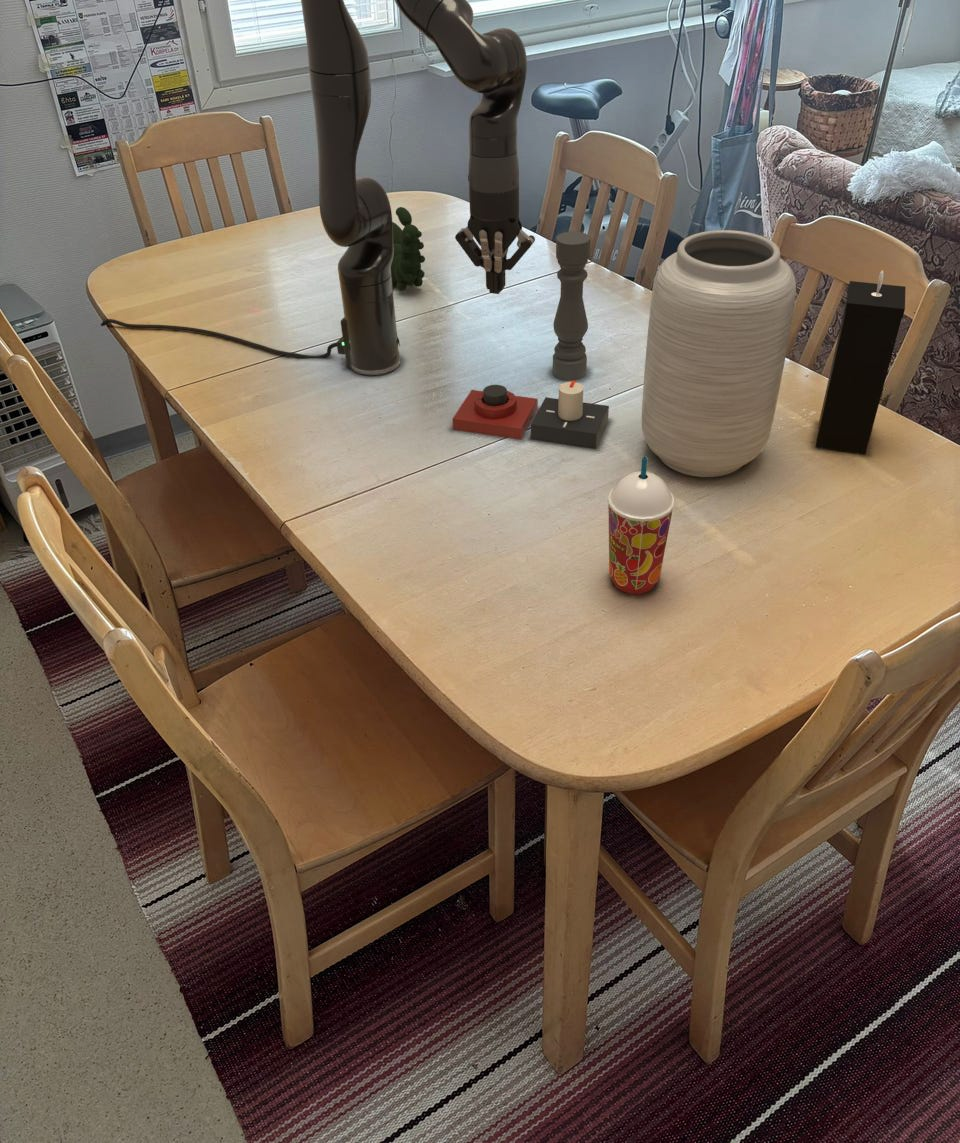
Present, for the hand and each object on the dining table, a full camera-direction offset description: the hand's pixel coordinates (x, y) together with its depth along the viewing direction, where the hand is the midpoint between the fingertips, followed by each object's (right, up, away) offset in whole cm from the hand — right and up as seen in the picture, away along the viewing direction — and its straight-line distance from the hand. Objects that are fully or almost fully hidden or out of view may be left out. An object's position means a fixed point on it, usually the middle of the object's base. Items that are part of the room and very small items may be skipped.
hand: (495, 291), depth 155 cm
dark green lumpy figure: (-21, +19, +55) cm, 62 cm away
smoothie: (+18, -47, -24) cm, 56 cm away
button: (0, -16, +7) cm, 18 cm away
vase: (+33, -26, -1) cm, 42 cm away
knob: (+12, -19, +4) cm, 23 cm away
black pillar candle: (+56, -24, +1) cm, 61 cm away
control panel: (+13, -22, +6) cm, 26 cm away
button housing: (0, -19, +9) cm, 21 cm away
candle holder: (+14, -9, +21) cm, 27 cm away
